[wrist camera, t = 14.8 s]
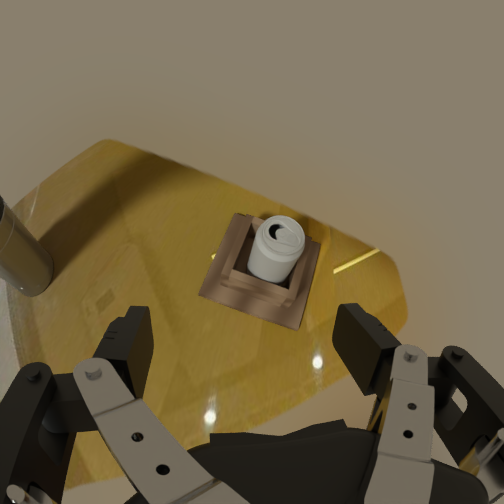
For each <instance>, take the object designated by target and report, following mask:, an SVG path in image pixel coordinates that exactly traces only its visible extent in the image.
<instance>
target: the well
mask: <svg viewBox="0 0 504 504" xmlns="http://www.w3.org/2000/svg"><path fill="white" fill-rule="evenodd" d="M264 222H265V220H262V219H259V218H257V217H254V216H251V215H248V214H247V215H246V217H245V216H242V215H239V214H236V213H235V214H234V216H233V218H232V220H231V223H230V225H229V227H228V229H227V231H226V233H225V236H224V238H223V240H222V242H221V244H220V246H219V249H218V251H217V253H216V255H215V257H214V260H213V262H212V264H211V266H210V269H209V271H208V273H207V275H206V278H205V280H204V282H203V284H202V287H201V289H200V291H199V293H198V294H199V296H202V297H204V298H207V299H209V300H212V301H215V302H217V303H220V304H222V305H225V306H228V307H230V308H233V309H236V310H239V311H241V312H244V313H247V314H250V315H252V316H255V317H258V318H261V319H264V320H266V321H269V322H272V323H275V324H278V325H281V326H284V327H287V328H290V329H293V330H296V331H297V330H298V328H299V325H300V321H301V318H302V314H303V311H304V307H305V303H306V300H307V296H308V292H309V288H310V285H311V281H312V277H313V273H314V269H315V265H316V261H317V257H318V253H319V249H320V244H319V243H316V242H314V241H311V240H312V238H311V237H309V236H306V235H305V246H304V250H303V252H302V254H301V255H300V257H299V259H298V260H297V262H296V263H295V265H294V267H293V268H292V270H291V271H290V273H289V275H288V276H287V278H286V279H285V281H284V282H283V284H282V285H280V286H277V285H274V284H272V283H269V282H266V281H263V280H261V279H258V278H255V277H252V276H250V275H247V264H248V261H249V257H250V254H251V250H252V247H253V243H254V240H255V236H256V233H257V230H258V228H259V227H260V225H261V224H262V223H264Z"/></svg>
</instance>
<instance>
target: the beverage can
mask: <svg viewBox="0 0 504 504" xmlns="http://www.w3.org/2000/svg"><path fill="white" fill-rule="evenodd" d="M304 246H305V235H304V231H303V229H302V227H301V226H300V225H299V224H298V223H297V222H296V221H295V220H293V219H292V218H289V217H286V216H273V217H270V218H268V219H267V220H266V221H265V222H264V223H262V224H261V225H260V227H259V228H258V230H257V233H256V236H255V240H254V243H253V247H252V250H251V254H250V257H249V261H248V264H247V275H250V276H252V277H255V278H258V279H261V280H263V281H266V282H269V283H272V284H274V285H277V286H280V285H282V284H283V282H284V281H285V279H286V278H287V276H288V275H289V273H290V271H291V270H292V268H293V267H294V265H295V263H296V262H297V260H298V259H299V257H300V255H301V254H302V252H303V250H304Z"/></svg>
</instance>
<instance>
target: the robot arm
mask: <svg viewBox="0 0 504 504" xmlns="http://www.w3.org/2000/svg"><path fill="white" fill-rule="evenodd" d="M53 268H54V267H53V261H52V258H51V256H50V255H49V254H48V253H47V251H46V250H45V249H44V248H43V247H42V246H41V245H40V243H39V242H38V241H37V240H36V239H35V238H34V237H33V235H32V234H31V233H30V232H29V231H28V230H27V228H26V227H25V226H24V225H23V224H22V222H21V221H20V220H19V219H18V217H17V216H16V215H15V214H14V212H13V211H12V210H11V209H10V208H9V206H8V205H7V204H6V202H5V201H4V200H3V198H2V197H1V196H0V277H1V278H2V279H3V280H5V281H6V282H7V283H9V284H10V285H11V286H12V287H14V288H15V289H17V290H18V291H19V292H21V293H22V294H24V295H26V296H30V297H32V296H36V295H38V294H40V293H41V292H43V291H44V290H45V289H46V287H47V286H48V284H49V283H50V281H51V278H52V275H53ZM332 342H333V346H334V348H335V350H336V351H337V353H338V354H339V356H340V358H341V359H342V361H343V362H344V364H345V366H346V367H347V369H348V370H349V372H350V374H351V375H352V377H353V378H354V380H355V382H356V383H357V385H358V386H359V388H360V389H361V391H362V393H363V394H364V396H367V395H371V394H375V393H376V395H377V397H376V399H375V401H374V405H373V409H372V412H371V415H370V419H369V422H368V425H367V428H366V430H365V429H359V428H347V426H346V424H345V422H344V420H343V419H341V420H336V421H331V422H326V423H320V424H315V425H311V426H309V427H306V428H303V429H301V430H298V431H295V432H292V433H290V434H287V435H283V436H274V435H263V434H254V433H246V432H241V433H210V443H206V444H202V445H199V446H196V447H194V448H191V449H189V450H187V451H186V450H185V449H184V448H183V447H182V446H181V445H180V444H179V443H178V441H177V440H176V439H175V438H174V437H173V436H172V435H171V434H170V433H169V431H168V430H167V429H166V428H165V427H164V426H163V425H162V423H161V422H160V421H159V420H158V419H157V417H156V416H155V415H154V414H153V412H152V411H151V410H150V409H149V408H148V406H147V405H146V404H145V402H144V401H143V400H142V398H143V393H144V389H145V384H146V380H147V376H148V372H149V367H150V363H151V359H152V355H153V349H154V341H153V333H152V326H151V318H150V311H149V307H148V306H130V307H129V309H128V311H127V313H126V315H125V317H118V318H116V319H115V320H114V321H113V322H111V323H110V325H109V326H108V328H107V330H106V332H105V334H104V336H103V338H102V340H101V342H100V343H99V345H98V347H97V349H96V351H95V353H94V355H93V357H92V358H89V359H86V360H83V361H81V362H80V363H78V364H77V365H76V367H75V368H74V371H73V373H67V374H54V375H53V373H52V371H51V369H50V367H49V366H48V365H47V364H45V363H41V362H34V363H30V364H27V365H26V366H24V367H23V368H21V369H20V371H19V372H18V374H17V375H16V377H15V379H14V380H13V382H12V384H11V386H10V387H9V389H8V391H7V393H6V394H5V396H4V398H3V400H2V402H1V403H0V504H61V501H62V496H63V490H64V485H65V480H66V475H67V470H68V466H69V462H70V457H71V453H72V449H73V445H74V441H75V438H76V434H77V432H85V431H96V430H98V431H99V433H100V435H101V437H102V439H103V440H104V442H105V444H106V446H107V447H108V449H109V451H110V452H111V454H112V455H113V457H114V459H115V460H116V462H117V463H118V465H119V467H120V468H121V470H122V471H123V473H124V474H125V476H126V477H127V479H128V480H129V482H130V483H131V485H132V486H133V487H134V488H135V490H136V491H137V493H136V494H135V495H133V496H132V497H131V498H130V499H129V500H128V501H126V502H125V503H124V504H492V503H494V502H495V501H497V500H498V499H499V498H500V497H502V496H503V495H504V389H503V388H502V386H501V385H500V384H499V383H498V382H497V381H496V380H495V379H494V378H493V377H492V376H491V375H490V374H489V373H488V372H487V371H486V370H485V369H484V368H483V367H482V366H481V365H480V364H479V363H478V362H477V361H476V360H475V359H474V358H473V357H472V356H471V355H470V354H469V353H468V352H467V351H465V350H464V349H462V348H460V347H457V346H447V347H445V348H444V349H443V351H442V354H441V356H440V357H427V354H426V353H425V352H424V351H423V350H422V349H420V348H418V347H416V346H413V345H402V344H401V343H400V342H399V341H398V340H397V339H396V338H395V337H394V336H393V335H392V334H391V332H390V331H389V330H388V331H387V328H386V327H385V326H384V325H382V323H381V322H380V321H379V320H378V319H377V318H376V317H374V316H372V315H370V314H369V313H366V312H365V311H364V310H363V309H362V308H361V307H360V306H359V304H357V303H349V304H340V305H339V307H338V311H337V316H336V320H335V325H334V330H333V335H332ZM457 388H458V389H459V390H460V391H461V392H462V394H463V395H464V396H465V397H466V399H467V404H468V405H467V409H466V411H465V412H464V413H463V412H462V411H461V410H460V408H459V407H458V406H457V404H456V403H455V402H454V401H453V399H452V398H451V397H452V396H453V394H454V392H455V390H456V389H457ZM433 427H434V429H435V430H436V432H437V434H438V435H439V436H440V438H441V440H442V441H443V442H444V444H445V446H446V448H447V449H448V451H449V452H450V454H451V456H452V457H453V459H454V460H455V462H456V463H457V465H458V467H459V469H457V468H455V467H452V466H449V465H447V464H444V463H442V462H439V461H437V460H434V459H432V458H431V449H432V438H433Z"/></svg>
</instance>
